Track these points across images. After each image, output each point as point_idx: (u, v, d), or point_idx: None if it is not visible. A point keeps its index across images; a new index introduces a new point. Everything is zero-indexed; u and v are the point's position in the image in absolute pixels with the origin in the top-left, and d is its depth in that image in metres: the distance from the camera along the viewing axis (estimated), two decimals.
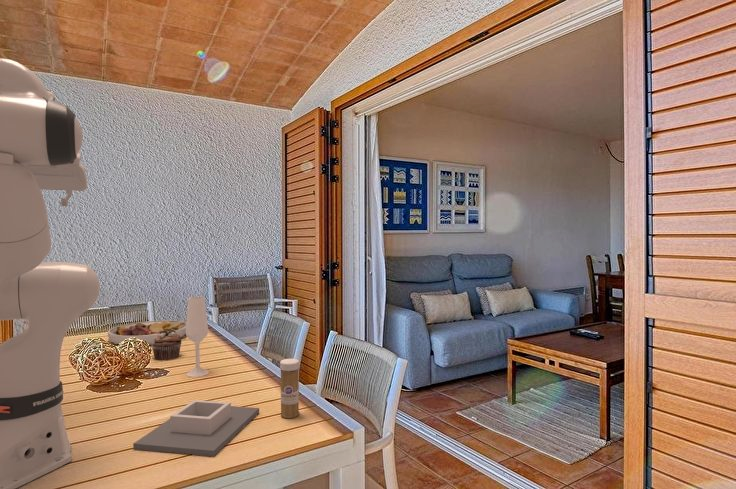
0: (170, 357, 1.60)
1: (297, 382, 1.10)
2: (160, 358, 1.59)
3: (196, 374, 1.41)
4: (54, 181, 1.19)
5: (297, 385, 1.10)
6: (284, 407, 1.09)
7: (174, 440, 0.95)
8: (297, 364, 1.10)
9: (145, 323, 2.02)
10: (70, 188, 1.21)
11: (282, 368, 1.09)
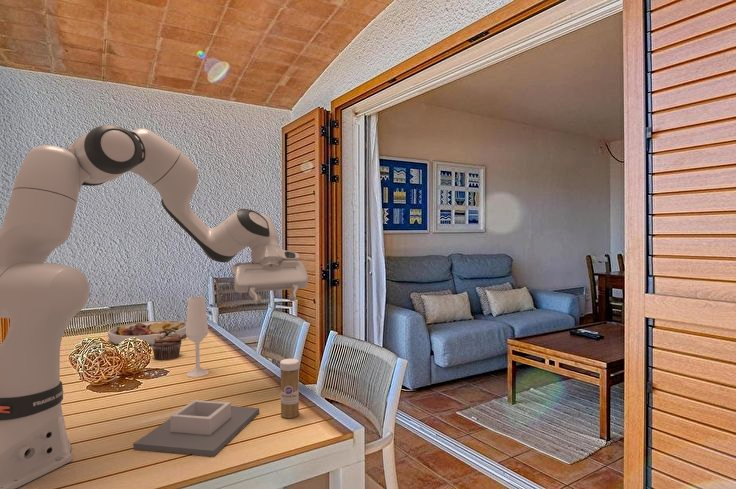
0: (170, 357, 1.60)
1: (297, 382, 1.10)
2: (160, 358, 1.59)
3: (196, 374, 1.41)
4: (282, 275, 1.27)
5: (297, 385, 1.10)
6: (284, 407, 1.09)
7: (174, 440, 0.95)
8: (297, 364, 1.10)
9: (145, 323, 2.02)
10: (296, 280, 1.27)
11: (282, 368, 1.09)
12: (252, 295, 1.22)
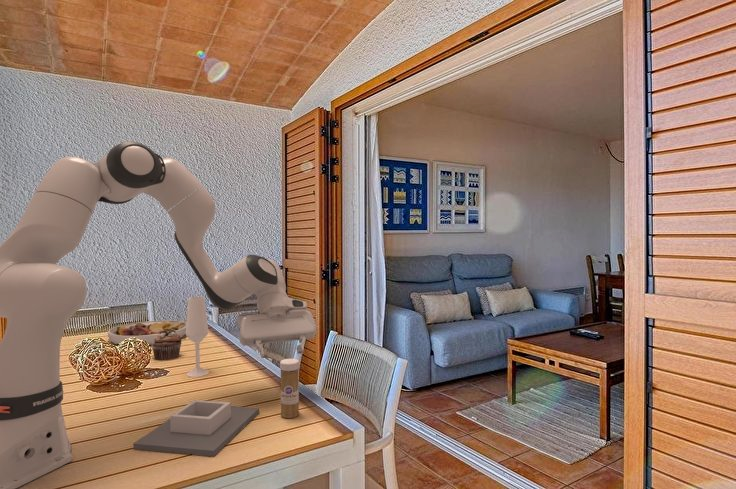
0: (170, 357, 1.60)
1: (297, 382, 1.10)
2: (160, 358, 1.59)
3: (196, 374, 1.41)
4: (289, 326, 1.22)
5: (297, 385, 1.10)
6: (284, 407, 1.09)
7: (174, 440, 0.95)
8: (297, 364, 1.10)
9: (145, 323, 2.02)
10: (304, 331, 1.22)
11: (282, 368, 1.09)
12: (258, 348, 1.17)
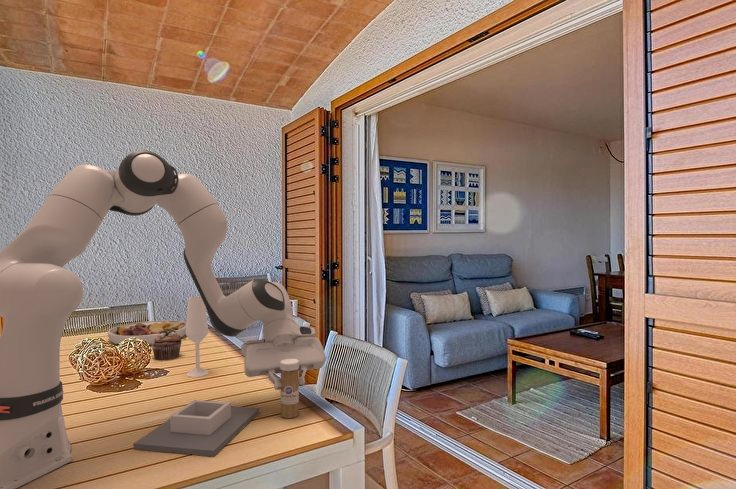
0: (170, 357, 1.60)
1: (297, 382, 1.10)
2: (160, 358, 1.59)
3: (196, 374, 1.41)
4: (297, 356, 1.15)
5: (297, 385, 1.10)
6: (284, 407, 1.09)
7: (174, 440, 0.95)
8: (297, 364, 1.10)
9: (145, 323, 2.02)
10: (312, 360, 1.15)
11: (282, 368, 1.09)
12: (271, 379, 1.10)
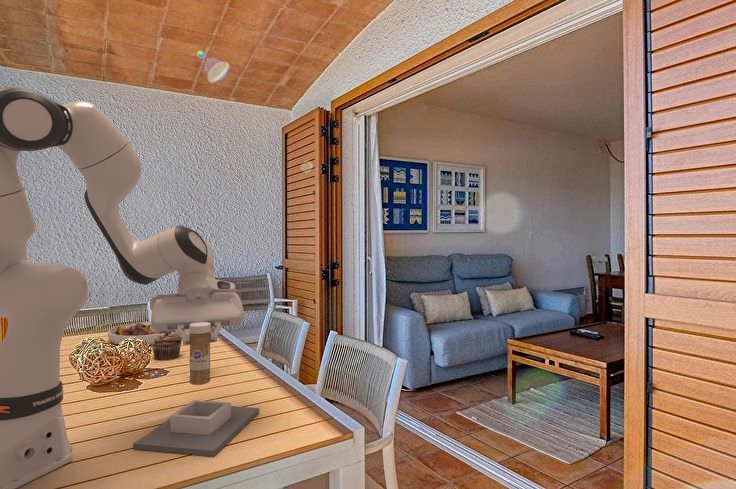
0: (170, 357, 1.60)
1: (207, 346, 1.02)
2: (160, 358, 1.59)
3: None
4: (211, 311, 1.06)
5: (207, 350, 1.02)
6: (192, 373, 1.01)
7: (174, 440, 0.95)
8: (207, 327, 1.02)
9: (145, 323, 2.02)
10: (228, 316, 1.07)
11: (190, 331, 1.01)
12: (180, 334, 1.02)
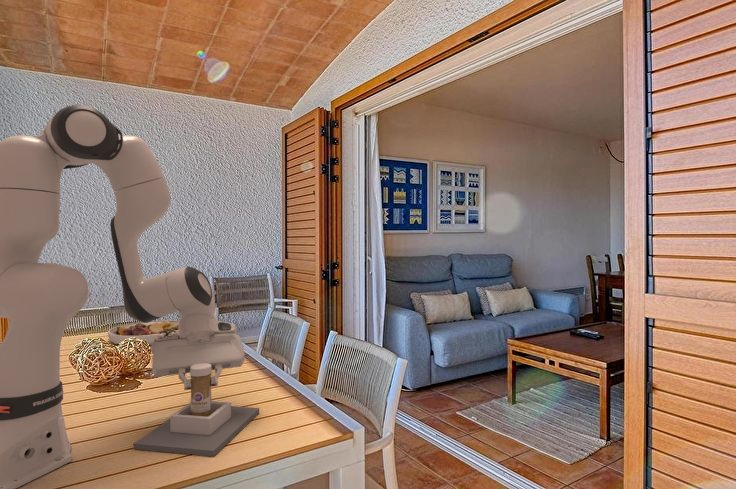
0: None
1: (208, 388, 1.03)
2: None
3: None
4: (212, 353, 1.07)
5: (208, 392, 1.03)
6: (194, 415, 1.02)
7: (174, 440, 0.95)
8: (208, 369, 1.02)
9: (145, 323, 2.02)
10: (229, 359, 1.07)
11: (191, 373, 1.01)
12: (181, 379, 1.03)
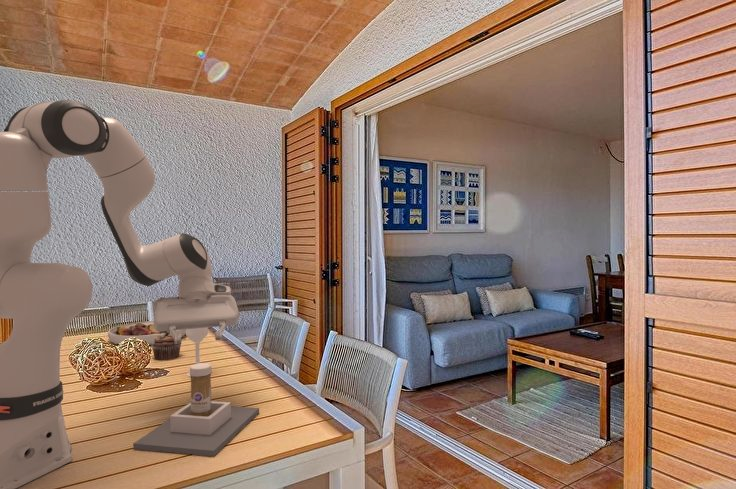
0: (170, 357, 1.60)
1: (208, 388, 1.03)
2: (160, 358, 1.59)
3: None
4: (209, 312, 1.16)
5: (208, 392, 1.03)
6: (194, 415, 1.02)
7: (174, 440, 0.95)
8: (208, 369, 1.02)
9: (145, 323, 2.02)
10: (224, 317, 1.17)
11: (191, 373, 1.01)
12: (172, 334, 1.11)
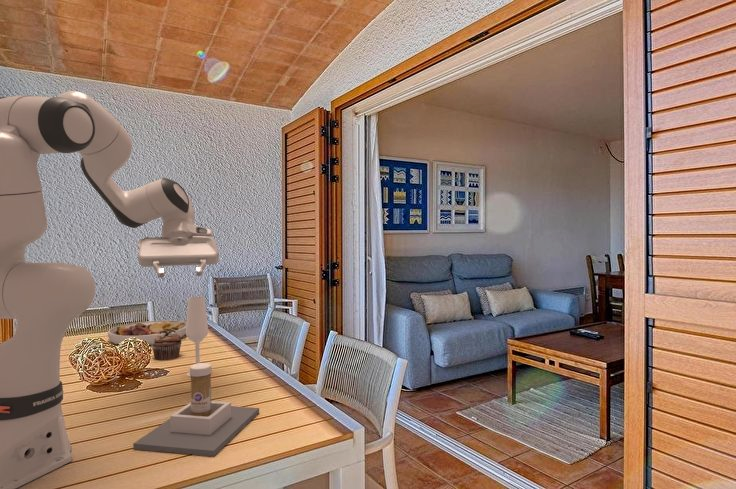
0: (170, 357, 1.60)
1: (208, 388, 1.03)
2: (160, 358, 1.59)
3: None
4: (190, 250, 1.24)
5: (208, 392, 1.03)
6: (194, 415, 1.02)
7: (174, 440, 0.95)
8: (208, 369, 1.02)
9: (145, 323, 2.02)
10: (205, 255, 1.25)
11: (191, 373, 1.01)
12: (155, 269, 1.19)
